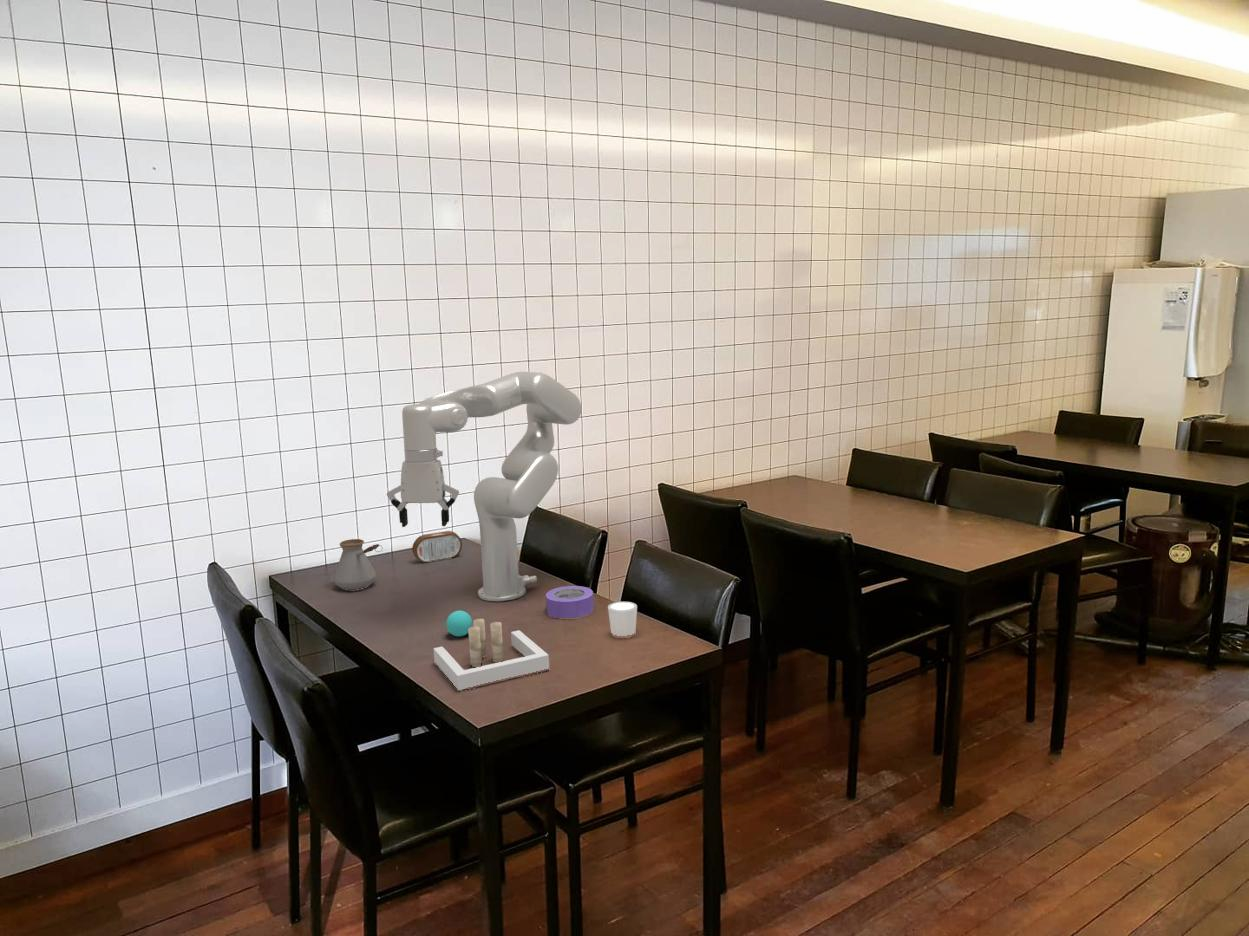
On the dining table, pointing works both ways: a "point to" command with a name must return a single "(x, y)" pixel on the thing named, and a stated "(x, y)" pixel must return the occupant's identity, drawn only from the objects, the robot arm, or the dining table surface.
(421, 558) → the tin
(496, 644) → the pin
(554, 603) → the tape roll
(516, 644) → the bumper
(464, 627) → the ball
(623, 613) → the white cup
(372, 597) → the dining table surface
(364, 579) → the coffee pot
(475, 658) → the pin
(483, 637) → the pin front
